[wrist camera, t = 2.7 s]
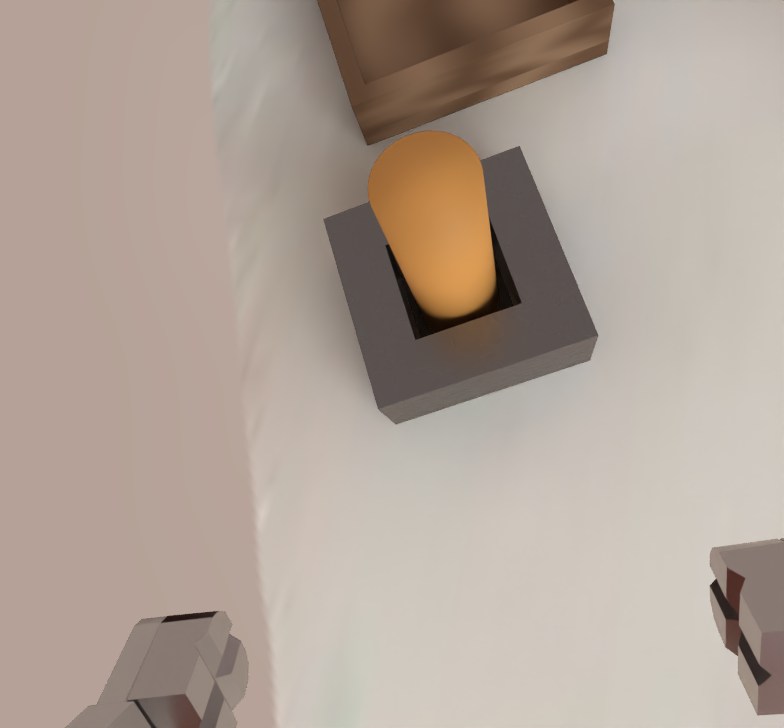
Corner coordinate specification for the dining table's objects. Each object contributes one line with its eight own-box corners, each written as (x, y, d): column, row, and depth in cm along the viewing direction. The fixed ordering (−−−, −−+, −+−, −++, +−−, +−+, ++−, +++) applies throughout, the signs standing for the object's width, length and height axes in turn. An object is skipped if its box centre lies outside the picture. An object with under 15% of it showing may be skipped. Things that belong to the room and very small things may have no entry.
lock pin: (484, 257, 34) (462, 114, 23) (509, 325, 33) (499, 210, 21) (412, 282, 34) (354, 155, 23) (434, 350, 33) (385, 252, 22)
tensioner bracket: (520, 189, 34) (519, 145, 31) (589, 360, 31) (598, 335, 28) (345, 253, 36) (323, 219, 32) (395, 424, 32) (378, 409, 29)
